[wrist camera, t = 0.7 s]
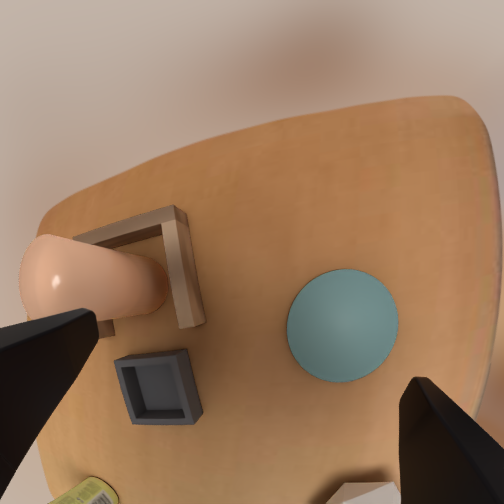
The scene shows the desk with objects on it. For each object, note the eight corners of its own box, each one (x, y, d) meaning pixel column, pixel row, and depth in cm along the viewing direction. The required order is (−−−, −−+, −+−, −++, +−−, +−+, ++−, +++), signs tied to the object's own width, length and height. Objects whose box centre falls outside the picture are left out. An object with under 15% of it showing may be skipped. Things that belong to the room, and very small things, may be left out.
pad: (313, 397, 21) (314, 399, 21) (268, 300, 23) (267, 300, 22) (409, 347, 21) (412, 349, 20) (369, 250, 22) (371, 249, 22)
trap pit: (203, 412, 22) (194, 424, 20) (144, 414, 23) (132, 424, 20) (186, 348, 23) (175, 355, 21) (128, 355, 24) (113, 360, 21)
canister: (131, 321, 24) (32, 338, 12) (112, 271, 25) (13, 258, 13) (176, 301, 24) (85, 309, 12) (155, 247, 25) (61, 217, 13)
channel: (206, 321, 23) (194, 326, 20) (105, 336, 24) (86, 340, 21) (186, 213, 24) (173, 204, 22) (91, 242, 26) (72, 237, 23)
